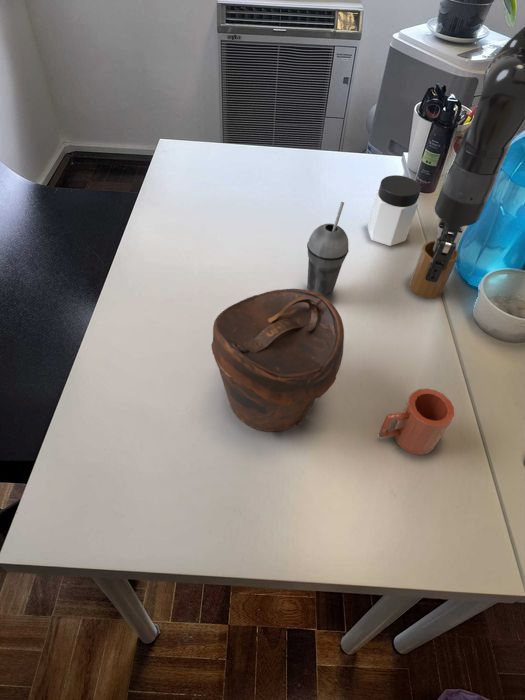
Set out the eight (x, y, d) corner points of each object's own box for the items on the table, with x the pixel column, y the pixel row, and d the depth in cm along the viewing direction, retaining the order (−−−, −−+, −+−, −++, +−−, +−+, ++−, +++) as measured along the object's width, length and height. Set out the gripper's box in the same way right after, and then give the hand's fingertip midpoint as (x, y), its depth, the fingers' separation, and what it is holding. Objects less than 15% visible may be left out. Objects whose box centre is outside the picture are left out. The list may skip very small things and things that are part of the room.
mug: (425, 416, 73) (443, 386, 67) (441, 452, 69) (462, 423, 63) (368, 423, 72) (381, 393, 66) (382, 460, 68) (396, 431, 62)
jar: (408, 247, 102) (426, 197, 93) (371, 246, 101) (385, 196, 92) (399, 223, 108) (415, 174, 99) (364, 222, 107) (377, 173, 98)
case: (335, 359, 80) (356, 279, 66) (320, 464, 67) (343, 390, 53) (233, 340, 82) (233, 257, 68) (199, 439, 69) (192, 361, 55)
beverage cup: (293, 288, 91) (305, 195, 76) (326, 280, 93) (345, 188, 78) (309, 313, 87) (326, 220, 72) (344, 304, 89) (367, 212, 74)
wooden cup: (434, 276, 96) (449, 239, 89) (447, 297, 92) (464, 260, 85) (404, 278, 95) (417, 241, 88) (416, 300, 91) (431, 263, 84)
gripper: (487, 218, 72) (449, 298, 85) (491, 174, 81) (456, 252, 94) (437, 206, 73) (407, 286, 86) (447, 165, 82) (418, 243, 95)
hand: (433, 268), depth 90 cm, fingers closed on wooden cup, 6 cm apart
